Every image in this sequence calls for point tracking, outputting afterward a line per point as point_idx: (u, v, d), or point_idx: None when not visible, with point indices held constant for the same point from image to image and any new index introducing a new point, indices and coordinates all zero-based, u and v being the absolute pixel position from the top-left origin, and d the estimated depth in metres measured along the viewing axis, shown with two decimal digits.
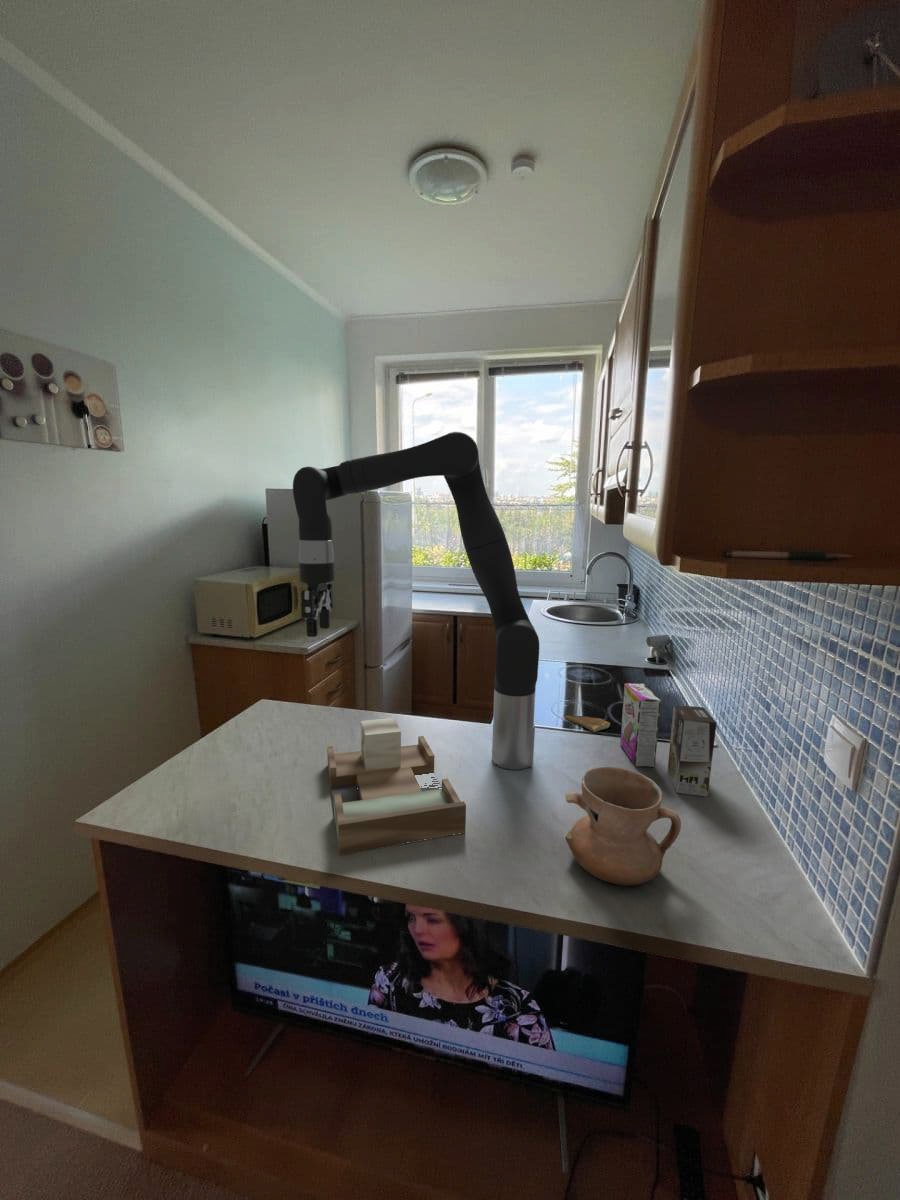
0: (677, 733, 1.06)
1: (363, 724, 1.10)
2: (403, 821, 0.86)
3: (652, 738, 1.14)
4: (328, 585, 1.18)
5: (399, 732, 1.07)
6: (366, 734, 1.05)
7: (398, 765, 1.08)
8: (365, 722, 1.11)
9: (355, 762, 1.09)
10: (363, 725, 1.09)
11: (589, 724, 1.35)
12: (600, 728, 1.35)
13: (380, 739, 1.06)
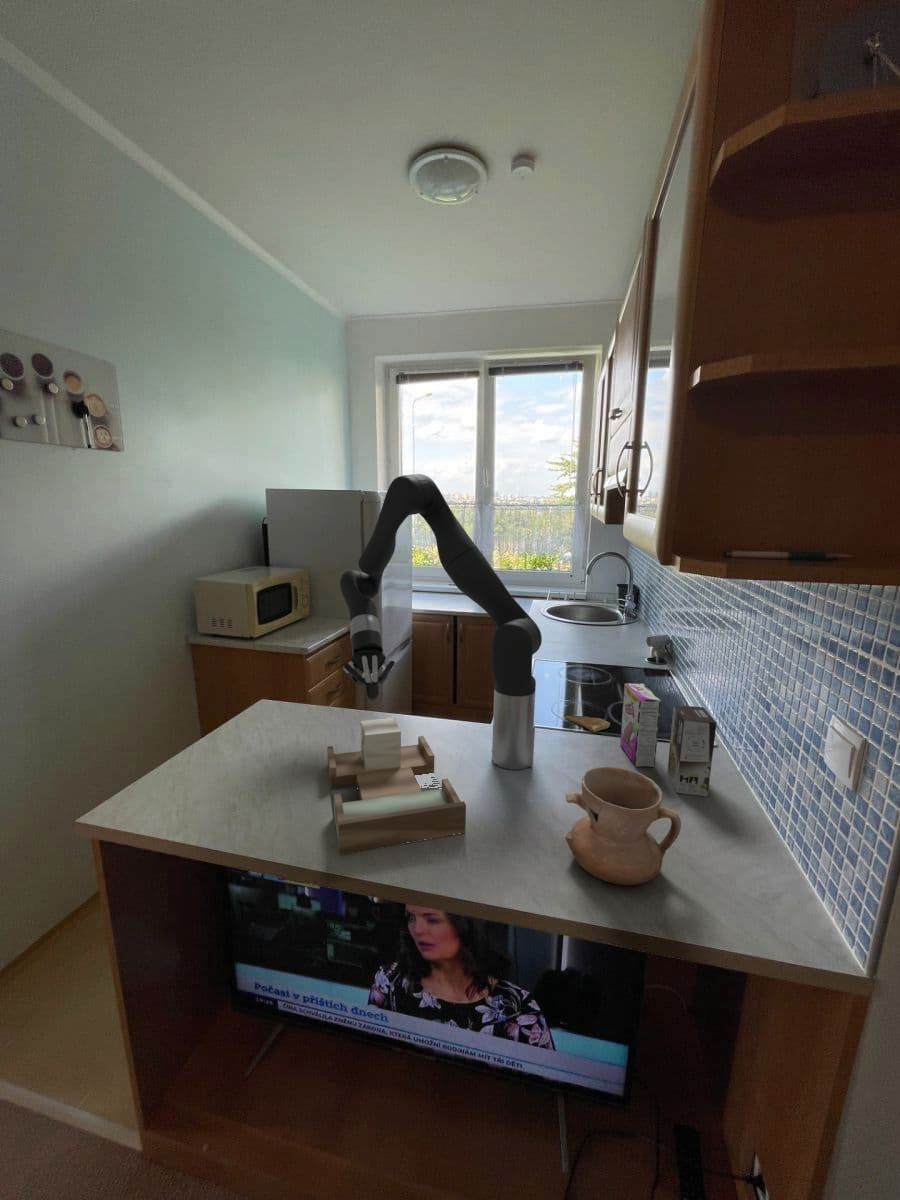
0: (677, 733, 1.06)
1: (363, 724, 1.10)
2: (403, 821, 0.86)
3: (652, 738, 1.14)
4: None
5: (399, 732, 1.07)
6: (366, 734, 1.05)
7: (398, 765, 1.08)
8: (365, 722, 1.11)
9: (355, 762, 1.09)
10: (363, 725, 1.09)
11: (589, 724, 1.35)
12: (600, 728, 1.35)
13: (380, 739, 1.06)
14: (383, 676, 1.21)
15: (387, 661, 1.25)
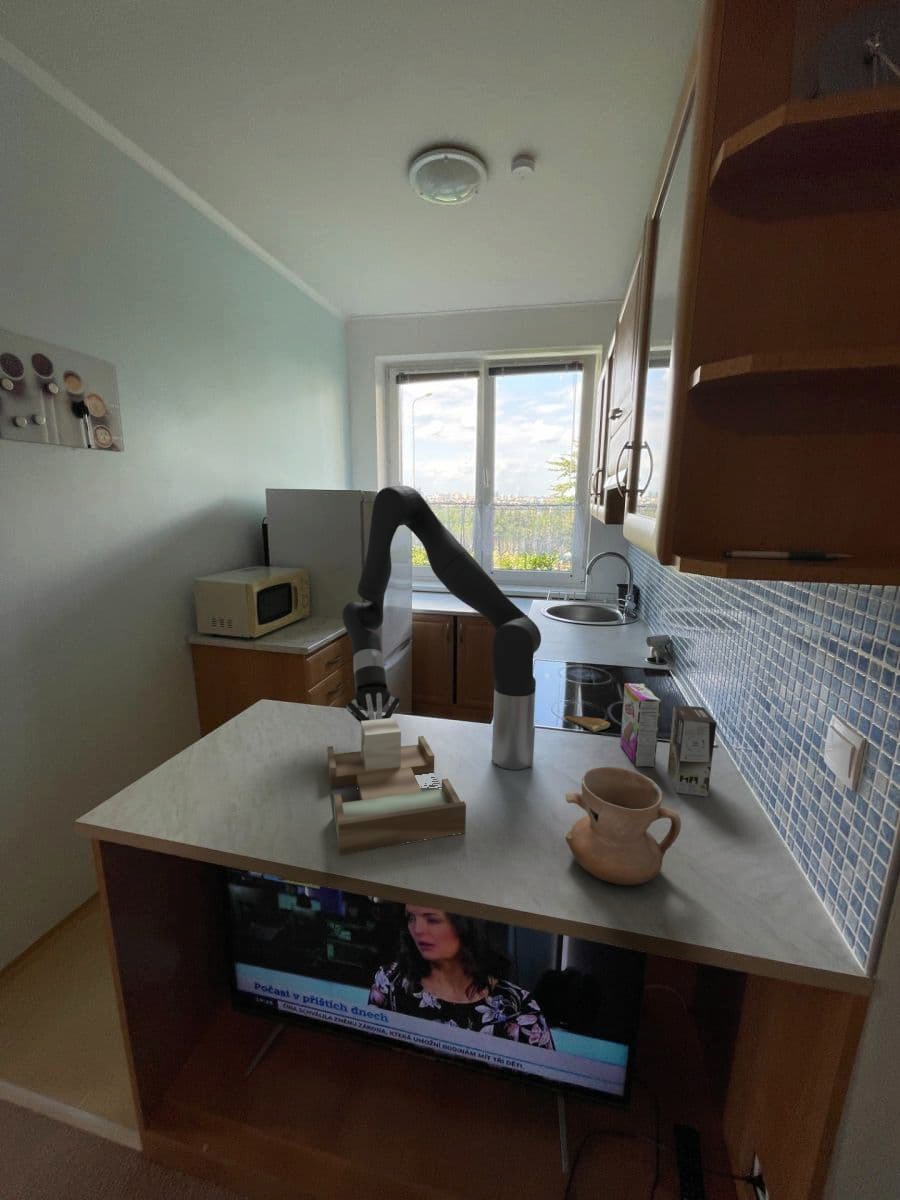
0: (677, 733, 1.06)
1: (363, 724, 1.10)
2: (403, 821, 0.86)
3: (652, 738, 1.14)
4: None
5: (399, 732, 1.07)
6: (366, 734, 1.05)
7: (398, 765, 1.08)
8: (365, 722, 1.11)
9: (355, 762, 1.09)
10: (363, 725, 1.09)
11: (589, 724, 1.35)
12: (600, 728, 1.35)
13: (380, 739, 1.06)
14: (388, 715, 1.17)
15: (392, 698, 1.20)
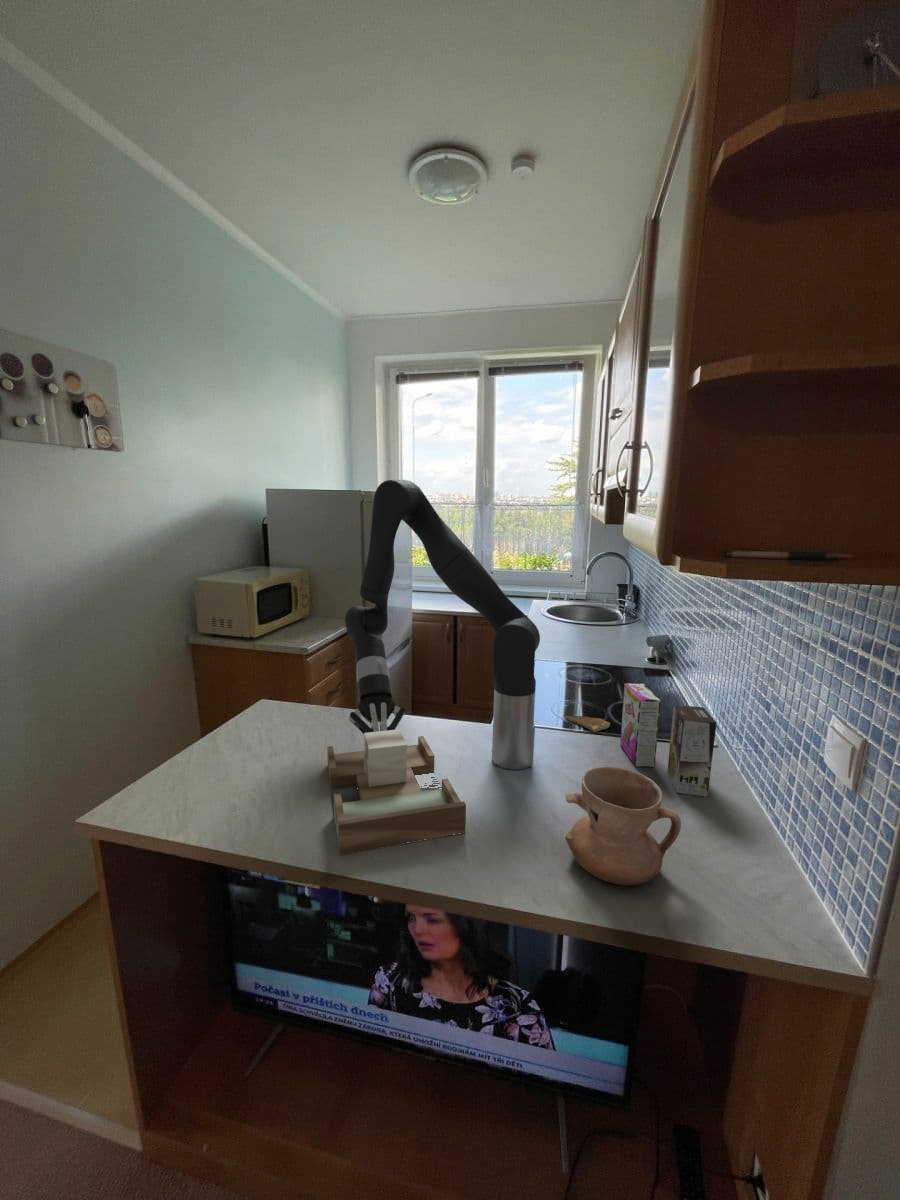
0: (677, 733, 1.06)
1: (366, 736, 1.04)
2: (403, 821, 0.86)
3: (652, 738, 1.14)
4: None
5: (405, 745, 1.00)
6: (370, 748, 0.99)
7: (403, 780, 1.02)
8: (369, 734, 1.05)
9: (355, 762, 1.09)
10: (367, 738, 1.03)
11: (589, 724, 1.35)
12: (600, 728, 1.35)
13: (385, 753, 0.99)
14: (393, 726, 1.11)
15: (397, 708, 1.14)
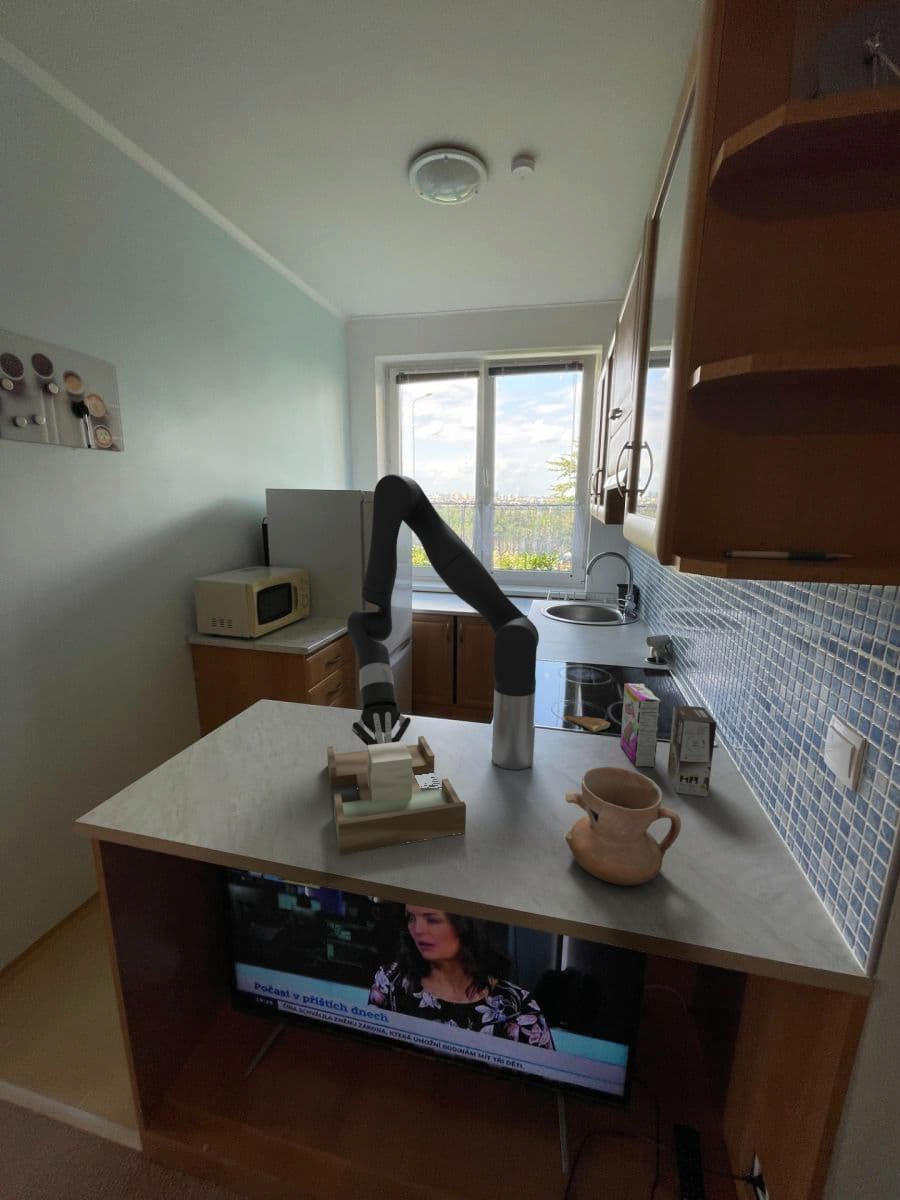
0: (677, 733, 1.06)
1: (370, 749, 0.98)
2: (403, 821, 0.86)
3: (652, 738, 1.14)
4: None
5: (410, 759, 0.95)
6: (373, 762, 0.93)
7: (409, 796, 0.96)
8: (373, 747, 0.99)
9: (355, 762, 1.09)
10: (370, 750, 0.98)
11: (589, 724, 1.35)
12: (600, 728, 1.35)
13: (389, 767, 0.94)
14: (398, 737, 1.05)
15: (402, 718, 1.09)
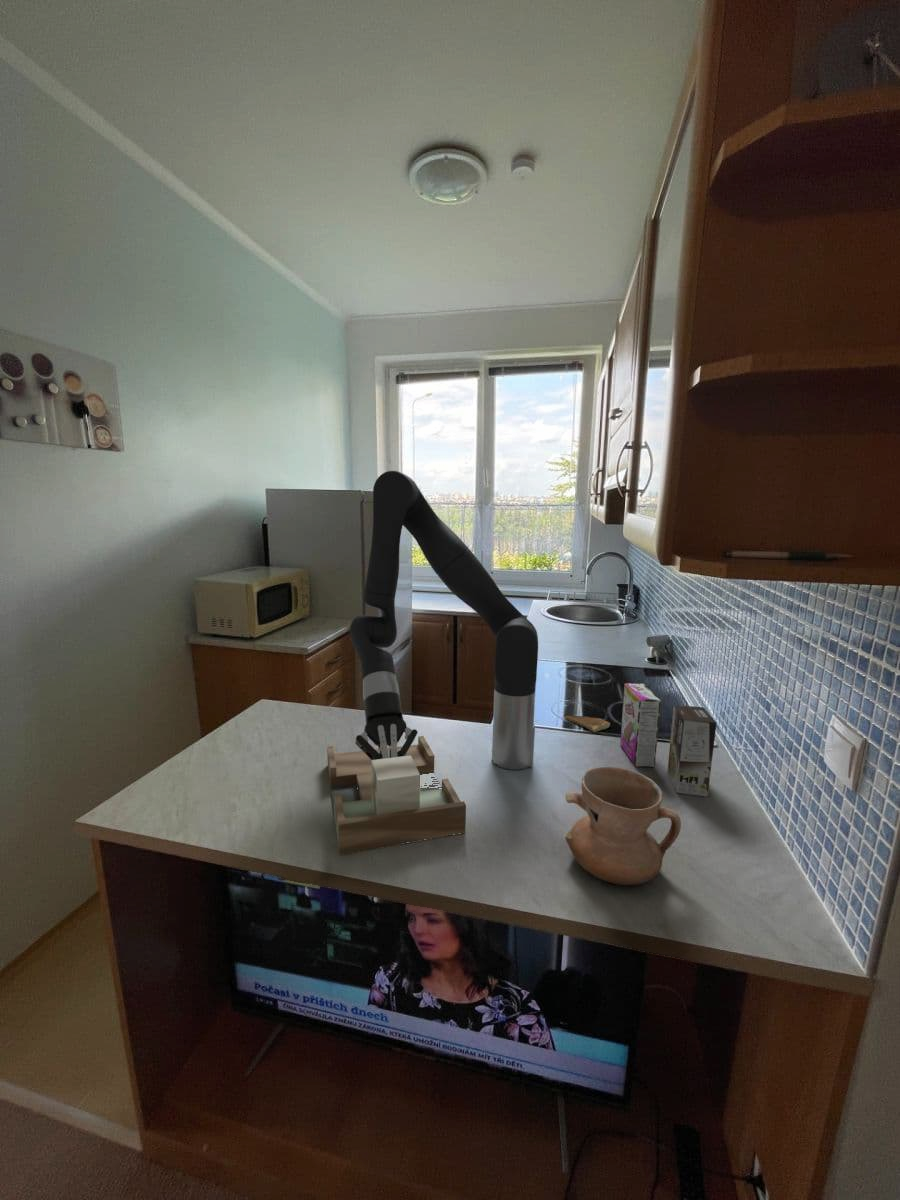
0: (677, 733, 1.06)
1: (374, 765, 0.92)
2: (403, 821, 0.86)
3: (652, 738, 1.14)
4: None
5: (418, 776, 0.89)
6: (378, 779, 0.87)
7: None
8: (377, 762, 0.93)
9: (355, 762, 1.09)
10: (375, 766, 0.92)
11: (589, 724, 1.35)
12: (600, 728, 1.35)
13: (395, 784, 0.88)
14: (404, 750, 0.99)
15: (408, 730, 1.03)
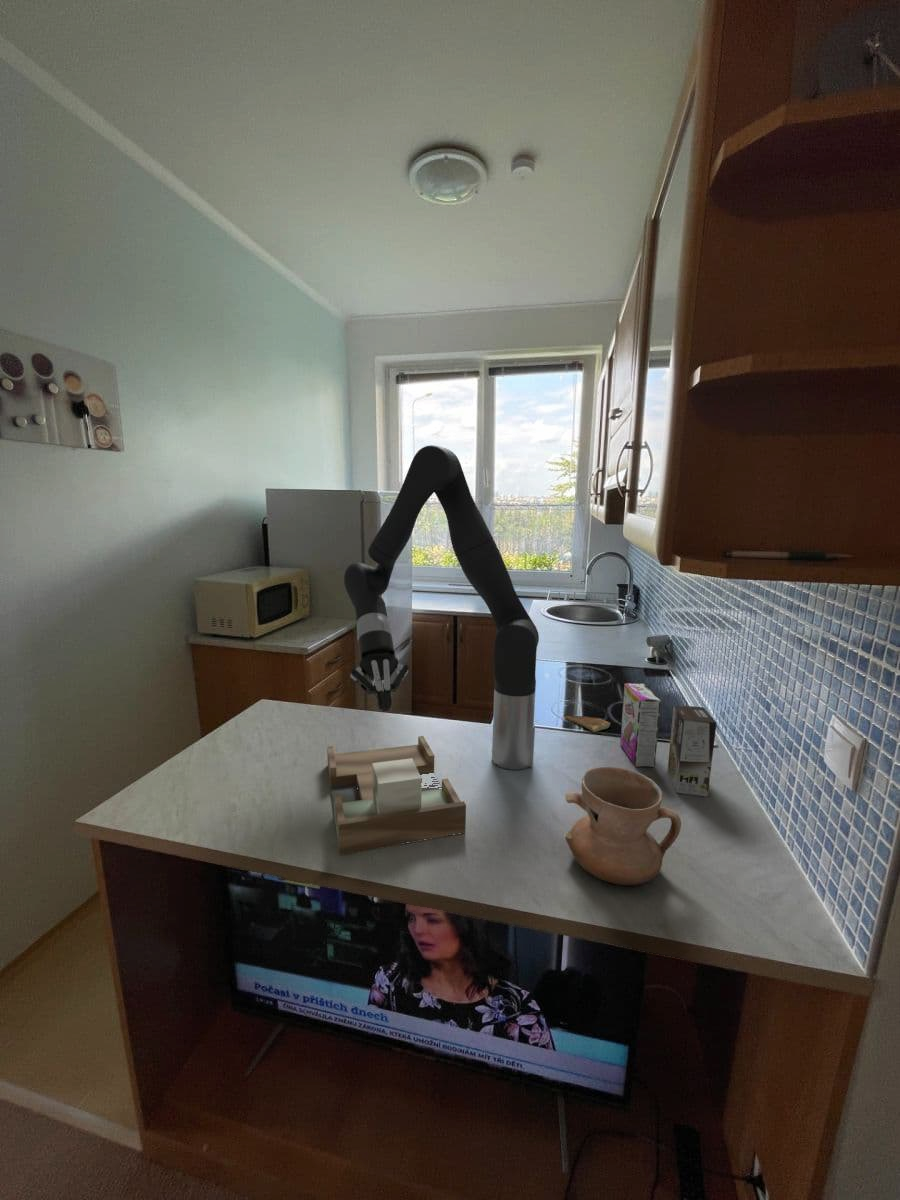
0: (677, 733, 1.06)
1: (375, 768, 0.91)
2: (403, 821, 0.86)
3: (652, 738, 1.14)
4: None
5: (419, 779, 0.88)
6: (380, 782, 0.86)
7: None
8: (378, 765, 0.92)
9: (355, 762, 1.09)
10: (375, 769, 0.91)
11: (589, 724, 1.35)
12: (600, 728, 1.35)
13: (397, 788, 0.87)
14: (396, 683, 1.05)
15: (400, 665, 1.09)
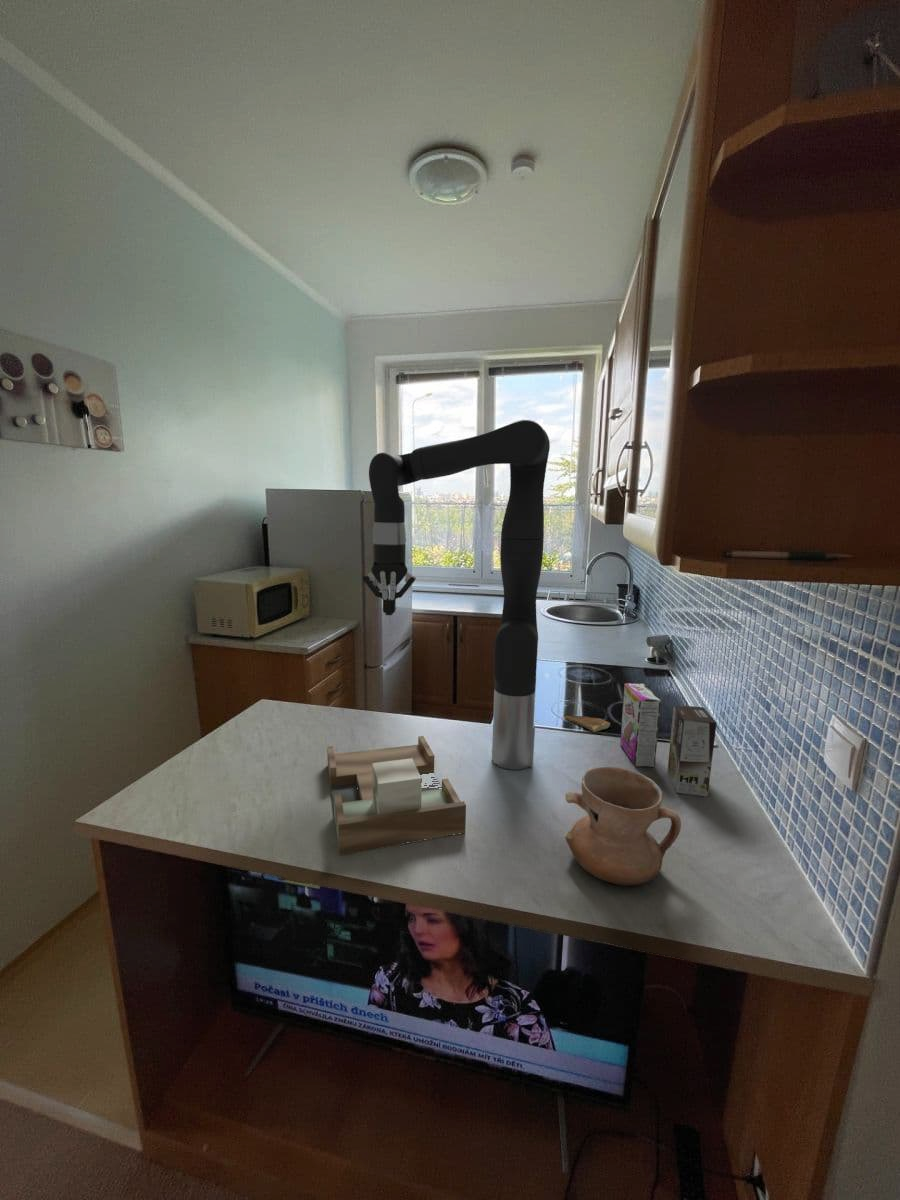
0: (677, 733, 1.06)
1: (375, 768, 0.91)
2: (403, 821, 0.86)
3: (652, 738, 1.14)
4: (410, 577, 1.18)
5: (419, 779, 0.88)
6: (380, 782, 0.86)
7: None
8: (378, 765, 0.92)
9: (355, 762, 1.09)
10: (375, 769, 0.91)
11: (589, 724, 1.35)
12: (600, 728, 1.35)
13: (397, 788, 0.87)
14: (400, 594, 1.19)
15: (408, 575, 1.19)
